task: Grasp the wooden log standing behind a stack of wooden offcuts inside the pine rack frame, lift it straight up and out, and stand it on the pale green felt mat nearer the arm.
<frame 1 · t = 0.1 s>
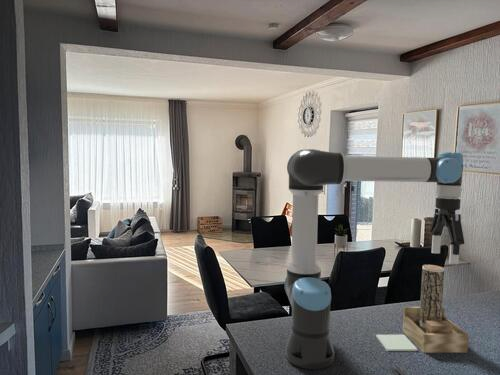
hand: (444, 258, 129), 28 cm above the countertop, fingers open, 13 cm apart
wooden log: (429, 337, 131), resting in rack
offcut stack: (439, 347, 124), resting in rack
felt mat: (395, 343, 126), on the countertop
rack: (433, 340, 128), on the countertop
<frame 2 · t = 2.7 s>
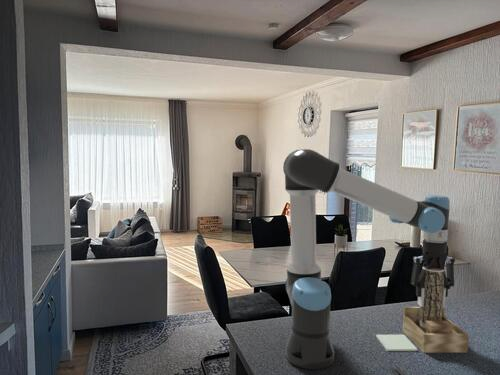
hand: (431, 305, 130), 12 cm above the countertop, fingers closed on wooden log, 7 cm apart
wooden log: (429, 337, 131), resting in rack, touching gripper
everything else where it was.
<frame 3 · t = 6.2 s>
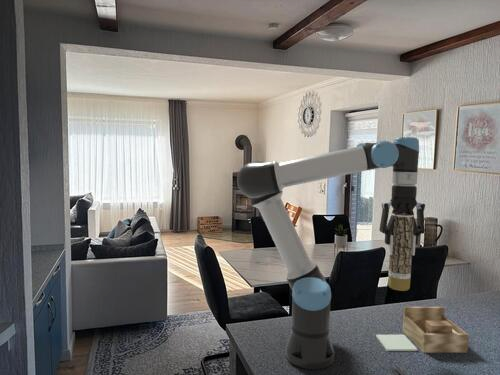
hand: (400, 254, 123), 31 cm above the countertop, fingers closed on wooden log, 7 cm apart
wooden log: (398, 288, 124), point 19 cm above the countertop, touching gripper
everything else where it was.
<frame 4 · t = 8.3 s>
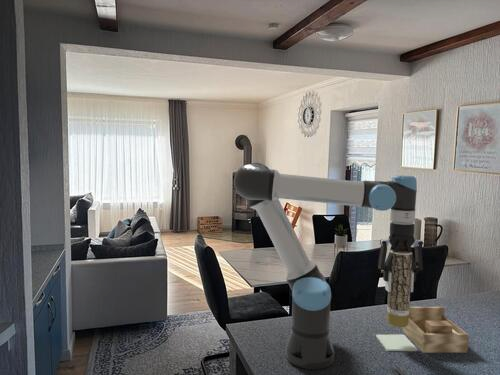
hand: (398, 290, 124), 18 cm above the countertop, fingers closed on wooden log, 7 cm apart
wooden log: (397, 324, 125), point 7 cm above the countertop, touching gripper
everything else where it was.
when the fingers open (13 cm above the countertop, at t = 9.8 s): wooden log stays where it is, resting on felt mat.
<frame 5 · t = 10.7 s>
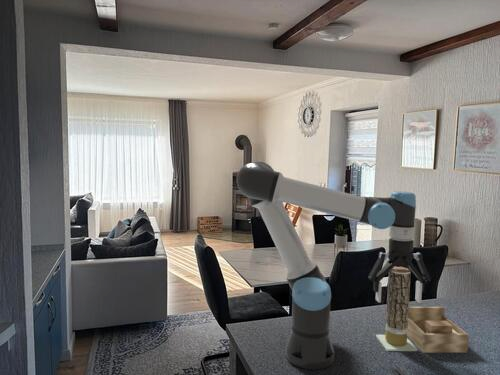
hand: (398, 301, 125), 15 cm above the countertop, fingers open, 13 cm apart
wooden log: (395, 342, 126), resting on felt mat
everything else where it was.
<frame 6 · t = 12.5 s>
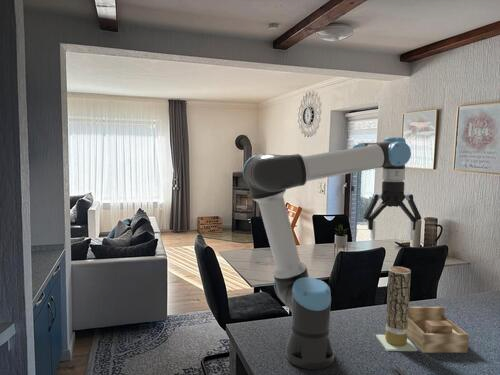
hand: (391, 238, 136), 33 cm above the countertop, fingers open, 13 cm apart
nothing on the countertop moved.
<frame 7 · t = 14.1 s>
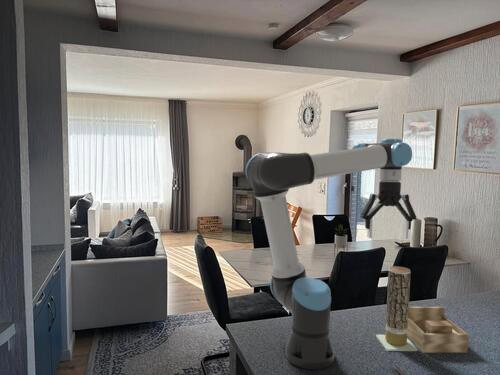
hand: (387, 237, 139), 33 cm above the countertop, fingers open, 13 cm apart
nothing on the countertop moved.
at the end: wooden log inside the target area (0.1 cm from its centre), resting on felt mat; wooden log tilted 0°; the gripper is holding nothing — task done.
